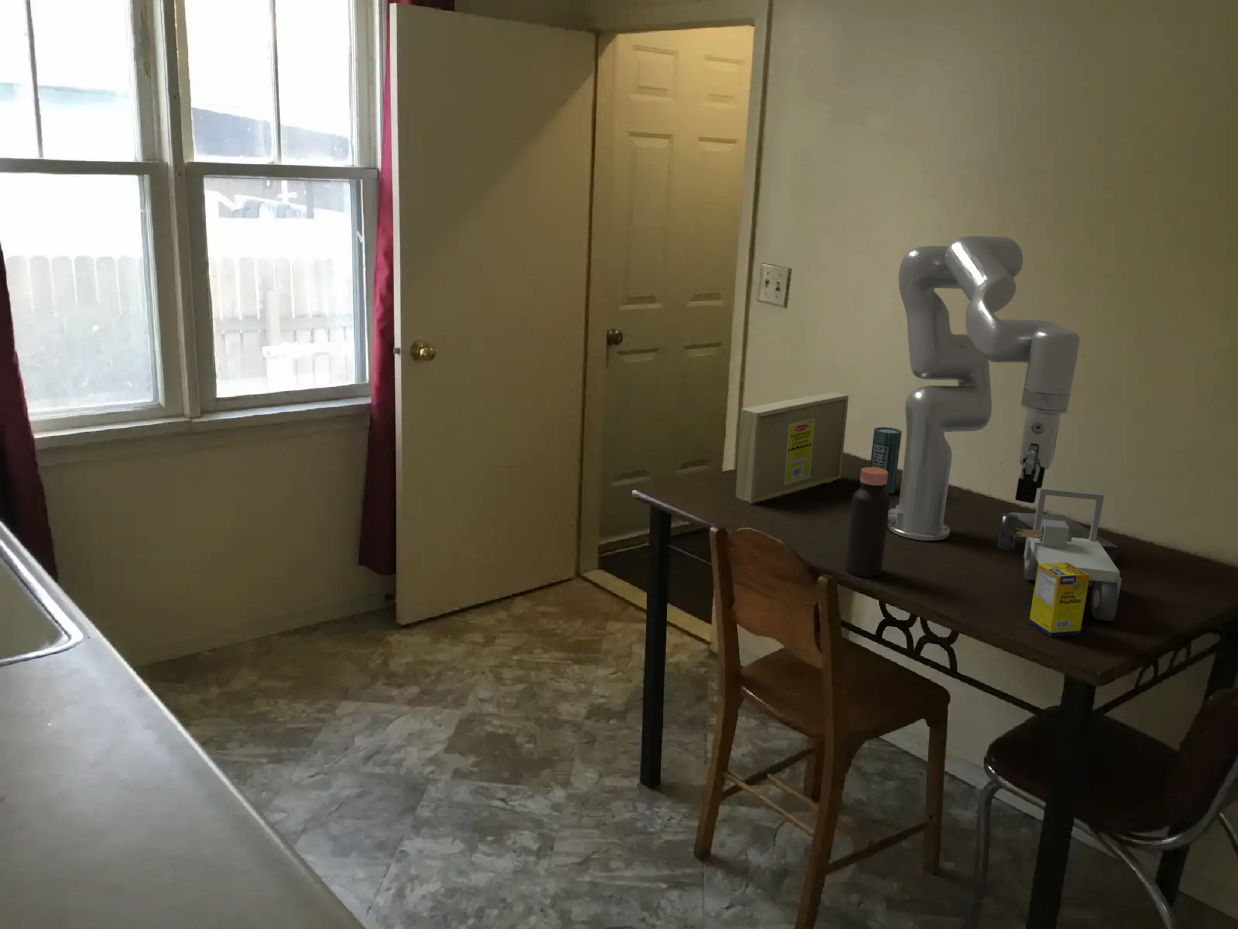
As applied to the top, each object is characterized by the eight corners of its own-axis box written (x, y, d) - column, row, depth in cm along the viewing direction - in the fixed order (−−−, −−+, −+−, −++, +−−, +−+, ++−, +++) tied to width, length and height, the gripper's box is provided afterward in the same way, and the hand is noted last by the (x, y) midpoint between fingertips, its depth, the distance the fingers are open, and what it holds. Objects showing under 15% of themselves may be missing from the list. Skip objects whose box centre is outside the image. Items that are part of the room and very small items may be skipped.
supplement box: (1080, 635, 175) (1091, 574, 172) (1049, 637, 173) (1059, 576, 170) (1058, 620, 180) (1068, 561, 177) (1027, 622, 179) (1037, 563, 176)
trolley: (1039, 618, 181) (1055, 520, 176) (1018, 571, 203) (1032, 482, 198) (1116, 627, 178) (1135, 528, 174) (1087, 579, 200) (1103, 489, 195)
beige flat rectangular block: (825, 476, 263) (834, 391, 257) (841, 480, 259) (850, 394, 253) (734, 500, 239) (741, 408, 234) (749, 505, 236) (757, 412, 230)
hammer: (998, 548, 192) (1003, 517, 191) (996, 543, 195) (1000, 512, 193) (1069, 555, 190) (1075, 524, 188) (1066, 550, 193) (1071, 520, 191)
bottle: (878, 580, 195) (890, 477, 189) (841, 573, 197) (852, 472, 192) (884, 568, 201) (896, 468, 196) (848, 562, 203) (859, 463, 198)
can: (898, 490, 252) (905, 430, 248) (886, 495, 248) (893, 434, 244) (875, 485, 256) (882, 425, 252) (863, 490, 252) (870, 429, 248)
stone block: (1056, 567, 207) (1060, 543, 205) (1003, 534, 225) (1006, 512, 224) (1117, 566, 209) (1122, 542, 208) (1059, 533, 228) (1063, 511, 227)
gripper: (1063, 414, 171) (1045, 512, 176) (1073, 394, 186) (1056, 485, 191) (1015, 406, 174) (998, 503, 180) (1028, 388, 189) (1013, 477, 194)
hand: (1028, 493), depth 185 cm, fingers open, 9 cm apart
